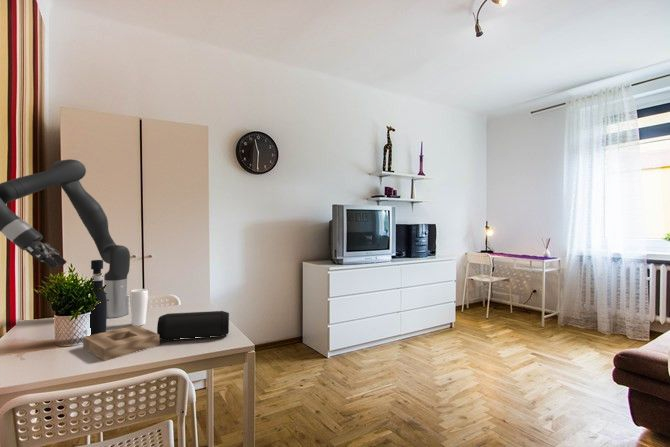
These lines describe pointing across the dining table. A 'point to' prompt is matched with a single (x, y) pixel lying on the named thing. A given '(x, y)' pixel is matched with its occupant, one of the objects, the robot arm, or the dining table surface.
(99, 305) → the black bottle
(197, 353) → the dining table surface
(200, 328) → the portable speaker
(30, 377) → the dining table surface
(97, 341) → the walnut jig
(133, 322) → the drinking glass
